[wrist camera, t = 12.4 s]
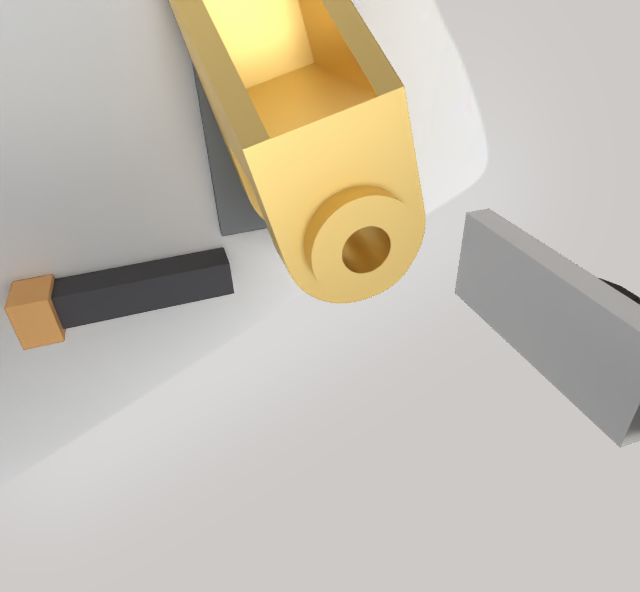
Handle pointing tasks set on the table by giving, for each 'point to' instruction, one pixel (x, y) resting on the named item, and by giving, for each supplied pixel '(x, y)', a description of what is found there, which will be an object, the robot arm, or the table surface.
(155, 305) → the dark grey bar
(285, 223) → the gold clevis bracket
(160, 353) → the table surface
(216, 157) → the mat
